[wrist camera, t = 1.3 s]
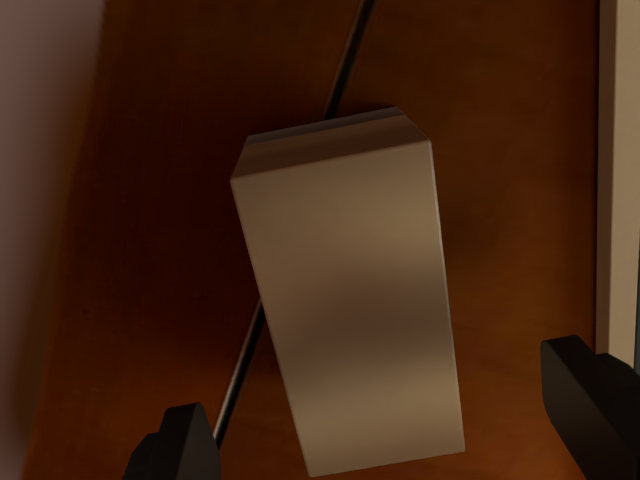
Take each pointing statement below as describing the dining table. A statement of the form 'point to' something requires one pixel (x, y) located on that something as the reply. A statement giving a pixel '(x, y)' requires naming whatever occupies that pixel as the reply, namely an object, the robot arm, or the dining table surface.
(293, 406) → the eraser
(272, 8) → the dining table surface
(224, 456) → the dining table surface
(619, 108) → the slate board
